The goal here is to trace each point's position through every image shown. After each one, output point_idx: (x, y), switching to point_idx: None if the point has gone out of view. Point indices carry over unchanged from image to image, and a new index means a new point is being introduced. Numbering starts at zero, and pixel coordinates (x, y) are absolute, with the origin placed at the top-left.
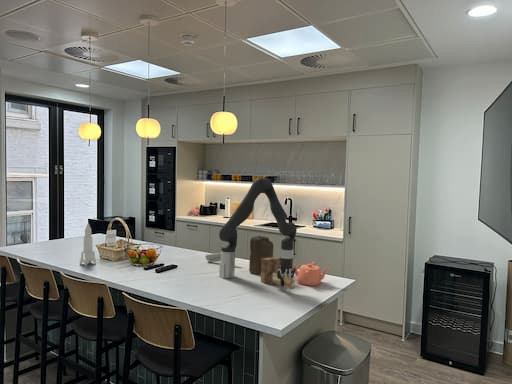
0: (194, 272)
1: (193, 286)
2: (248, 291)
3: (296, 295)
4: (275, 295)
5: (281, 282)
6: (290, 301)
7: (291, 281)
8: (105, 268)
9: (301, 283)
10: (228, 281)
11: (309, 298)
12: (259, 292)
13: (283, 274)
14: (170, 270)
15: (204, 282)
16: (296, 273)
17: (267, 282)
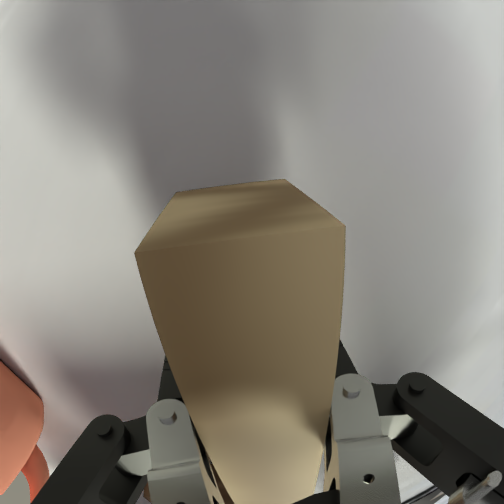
0: (401, 493)
1: (500, 408)
2: (452, 361)
3: (163, 146)
4: (387, 238)
5: (345, 360)
6: (353, 15)
7: (259, 226)
8: None
9: (21, 386)
10: (398, 462)
11: (86, 18)
12: (427, 337)
13: (143, 496)
14: (427, 488)
15: None
16: (38, 468)
17: None
